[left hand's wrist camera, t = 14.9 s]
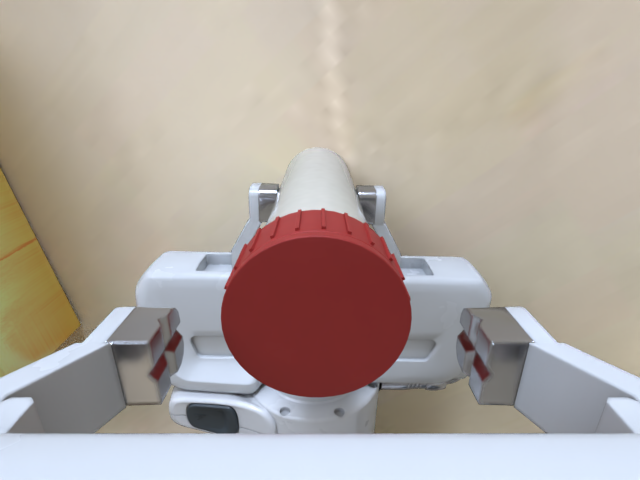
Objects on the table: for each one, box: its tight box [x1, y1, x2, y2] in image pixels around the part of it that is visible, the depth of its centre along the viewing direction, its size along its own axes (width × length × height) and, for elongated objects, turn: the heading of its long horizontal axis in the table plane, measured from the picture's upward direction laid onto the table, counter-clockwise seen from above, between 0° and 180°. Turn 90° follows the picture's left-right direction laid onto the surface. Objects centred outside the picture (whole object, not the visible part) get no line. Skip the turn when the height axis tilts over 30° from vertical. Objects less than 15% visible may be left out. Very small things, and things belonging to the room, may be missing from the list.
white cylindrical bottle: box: [266, 147, 367, 225], centre depth 18 cm, size 4×4×16 cm
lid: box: [221, 208, 412, 397], centre depth 11 cm, size 5×5×2 cm
